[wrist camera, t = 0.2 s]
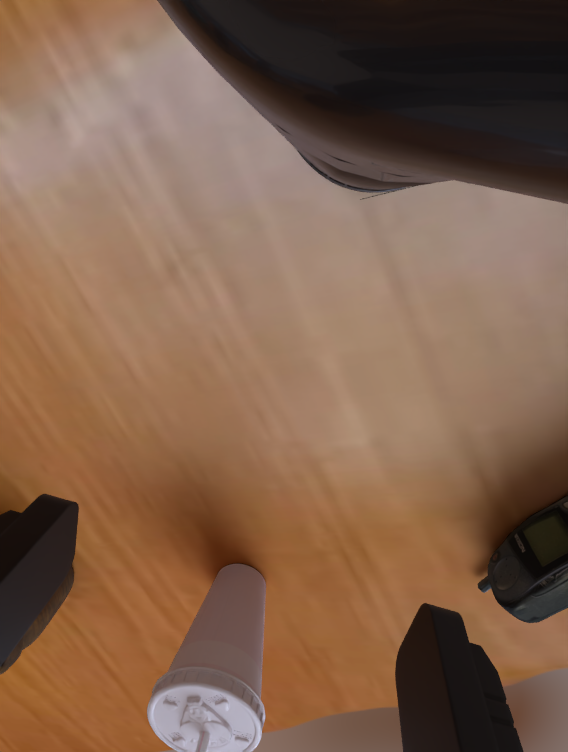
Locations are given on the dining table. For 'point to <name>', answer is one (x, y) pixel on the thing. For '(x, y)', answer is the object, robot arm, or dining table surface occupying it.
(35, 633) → the utensil holder
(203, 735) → the smoothie
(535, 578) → the mobile phone
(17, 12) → the dining table surface
